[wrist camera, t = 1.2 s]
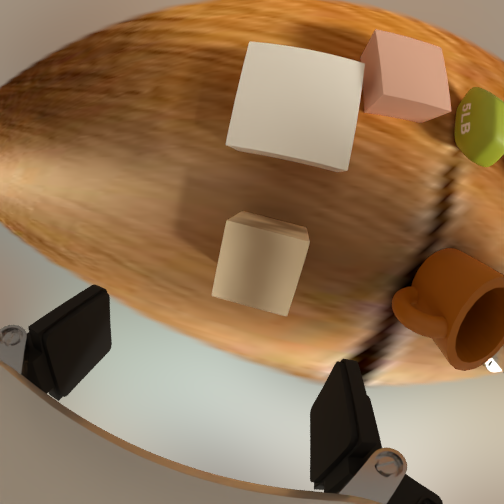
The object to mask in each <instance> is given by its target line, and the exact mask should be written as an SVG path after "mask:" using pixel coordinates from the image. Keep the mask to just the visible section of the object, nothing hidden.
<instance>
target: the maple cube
mask: <svg viewBox="0 0 504 504" xmlns="http://www.w3.org/2000/svg"><path fill="white" fill-rule="evenodd" d="M309 244H310V240H309V236H308V231H307V227H303V226H300V225H296V224H292V223H288V222H285V221H281V220H277V219H273V218H269V217H265V216H261V215H258V214H254V213H250V212H246V211H241V212H239V213H238V214H236V215H234V216H233V217H231V218H230V219H228V220H226V225H225V230H224V235H223V240H222V245H221V249H220V254H219V259H218V265H217V270H216V275H215V280H214V285H213V290H212V296H214V297H218V298H221V299H225V300H228V301H231V302H235V303H238V304H242V305H245V306H249V307H253V308H256V309H260V310H264V311H267V312H271V313H275V314H279V315H283V316H286V317H287V315H288V312H289V309H290V306H291V303H292V300H293V296H294V293H295V290H296V287H297V284H298V281H299V277H300V274H301V271H302V268H303V264H304V261H305V258H306V254H307V251H308V247H309Z"/></svg>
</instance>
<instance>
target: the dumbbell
mask: <svg viewBox="0 0 504 504" xmlns="http://www.w3.org/2000/svg"><path fill="white" fill-rule="evenodd" d="M455 142H456V145H457V146H458V148H459V149H460V150H461V151H462V153H463V154H464V155H465V156H466V157H467V158H468V159H470V160H471V161H472V162H474V163H476V164H478V165H480V166H483V167H489V166H491V165H493V164H494V163H495V162H496V161H498V160H499V159H500V158H501V157H502V156H503V155H504V102H503V101H502V100H501V99H499V98H498V97H496V96H495V95H494V94H492V93H490V92H488V91H486V90H484V89H482V88H479V87H473V88H472V89H470V90H469V91H468V93H467V94H466V95H465V97H464V98H463V100H462V101H461V102H460V104H459V105H458V107H457V110H456V118H455Z"/></svg>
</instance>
